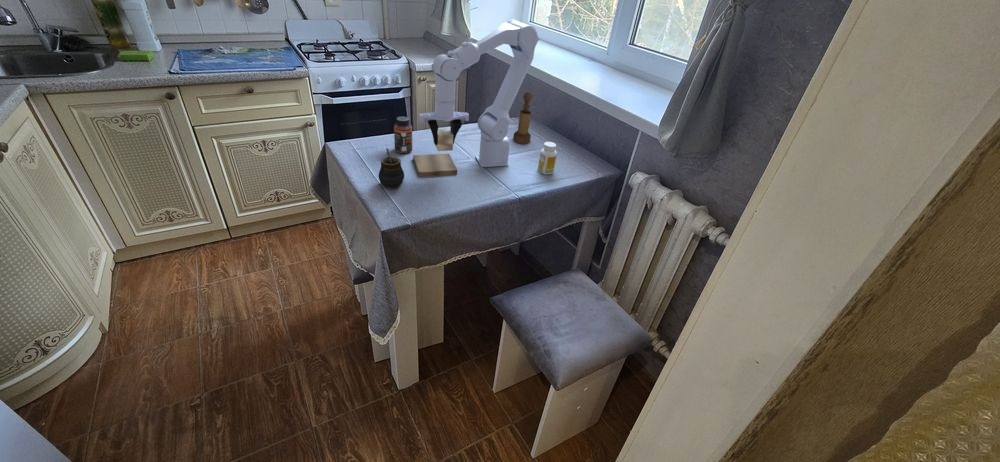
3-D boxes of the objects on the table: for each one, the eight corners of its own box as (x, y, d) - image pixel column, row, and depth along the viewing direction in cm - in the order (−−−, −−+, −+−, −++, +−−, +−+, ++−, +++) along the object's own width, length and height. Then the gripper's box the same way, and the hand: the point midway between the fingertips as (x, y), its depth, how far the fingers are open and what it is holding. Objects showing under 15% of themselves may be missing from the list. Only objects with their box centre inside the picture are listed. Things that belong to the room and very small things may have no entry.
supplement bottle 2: (554, 169, 146) (560, 143, 141) (551, 176, 142) (556, 149, 137) (539, 165, 148) (544, 139, 142) (535, 172, 143) (540, 145, 138)
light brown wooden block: (448, 158, 146) (448, 153, 145) (457, 175, 137) (457, 170, 136) (413, 160, 143) (413, 155, 141) (419, 178, 133) (419, 172, 132)
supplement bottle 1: (408, 155, 144) (407, 123, 138) (391, 152, 145) (390, 120, 138) (415, 148, 149) (414, 117, 142) (398, 145, 150) (397, 114, 143)
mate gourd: (385, 193, 123) (383, 161, 118) (374, 181, 128) (372, 150, 122) (408, 187, 127) (407, 156, 121) (397, 176, 132) (395, 146, 126)
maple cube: (449, 144, 136) (449, 129, 133) (452, 150, 132) (453, 135, 129) (434, 144, 134) (435, 129, 131) (438, 151, 131) (438, 135, 128)
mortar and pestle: (530, 144, 162) (537, 97, 151) (513, 142, 161) (519, 95, 151) (529, 137, 167) (536, 91, 157) (513, 135, 167) (518, 89, 156)
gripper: (422, 104, 119) (422, 149, 127) (472, 103, 124) (470, 147, 132) (417, 96, 125) (418, 140, 132) (466, 95, 129) (463, 138, 137)
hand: (443, 143), depth 132 cm, fingers closed on maple cube, 4 cm apart
